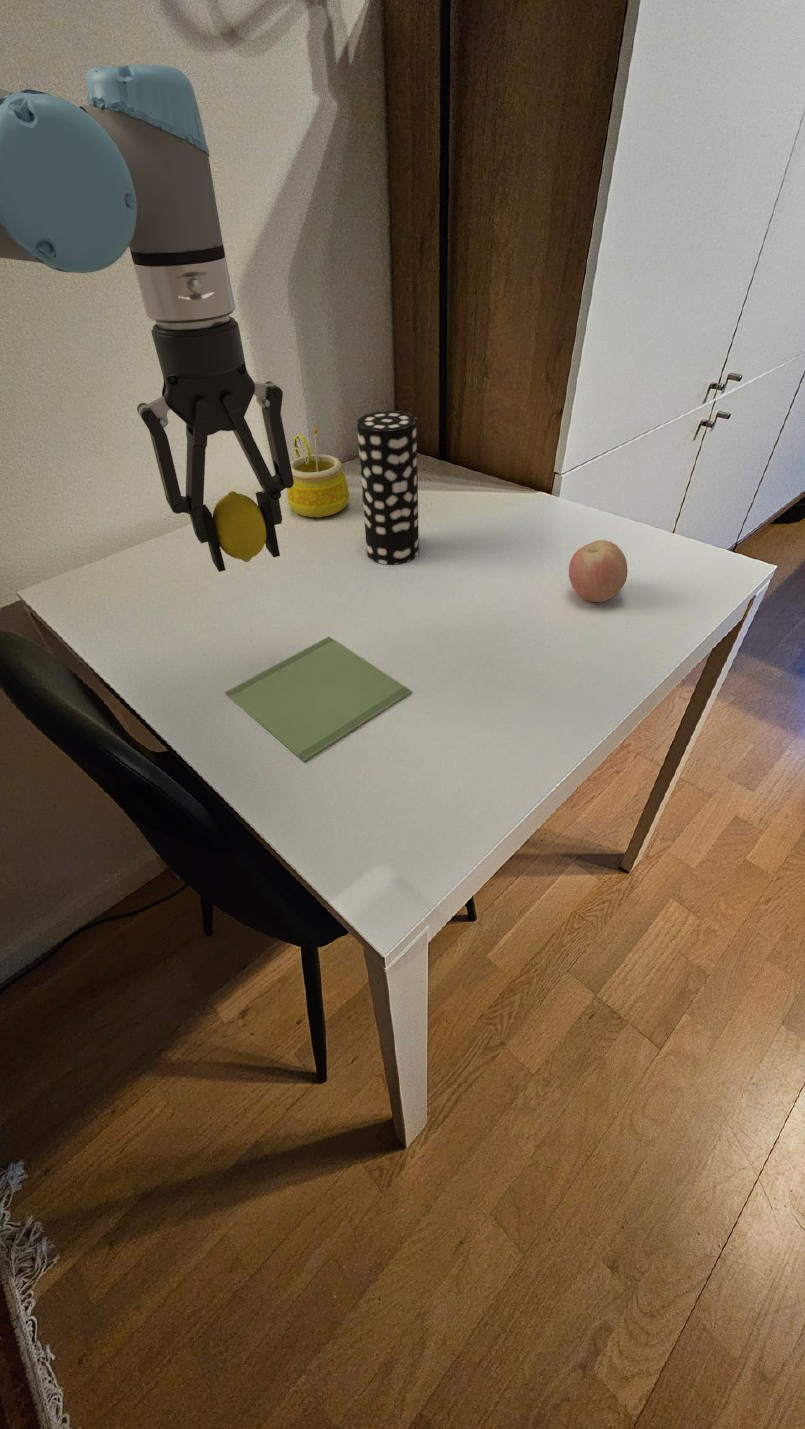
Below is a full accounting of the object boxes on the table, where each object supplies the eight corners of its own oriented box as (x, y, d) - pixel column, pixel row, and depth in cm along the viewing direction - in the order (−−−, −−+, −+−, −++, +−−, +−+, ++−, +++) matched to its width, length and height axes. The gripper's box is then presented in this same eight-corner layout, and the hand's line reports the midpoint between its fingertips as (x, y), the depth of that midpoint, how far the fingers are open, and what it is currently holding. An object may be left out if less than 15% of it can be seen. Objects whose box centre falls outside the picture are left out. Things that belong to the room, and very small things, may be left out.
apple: (585, 576, 93) (594, 526, 88) (631, 595, 89) (644, 543, 84) (553, 598, 89) (561, 546, 84) (600, 619, 85) (611, 566, 80)
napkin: (304, 762, 68) (303, 760, 67) (225, 694, 76) (224, 692, 76) (411, 693, 75) (411, 690, 75) (328, 638, 84) (328, 636, 84)
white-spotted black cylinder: (358, 559, 99) (346, 427, 86) (379, 536, 105) (371, 408, 91) (407, 568, 97) (403, 433, 83) (426, 543, 102) (425, 414, 89)
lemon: (280, 552, 72) (267, 484, 67) (257, 576, 68) (242, 505, 63) (237, 547, 73) (222, 479, 68) (212, 570, 70) (194, 500, 64)
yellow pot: (348, 520, 109) (341, 450, 101) (285, 522, 110) (273, 452, 102) (353, 490, 119) (347, 423, 111) (295, 491, 119) (285, 425, 111)
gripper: (87, 343, 50) (170, 596, 65) (308, 313, 55) (335, 552, 71) (76, 326, 55) (156, 565, 70) (280, 300, 60) (311, 526, 76)
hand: (246, 558), depth 71 cm, fingers closed on lemon, 6 cm apart
